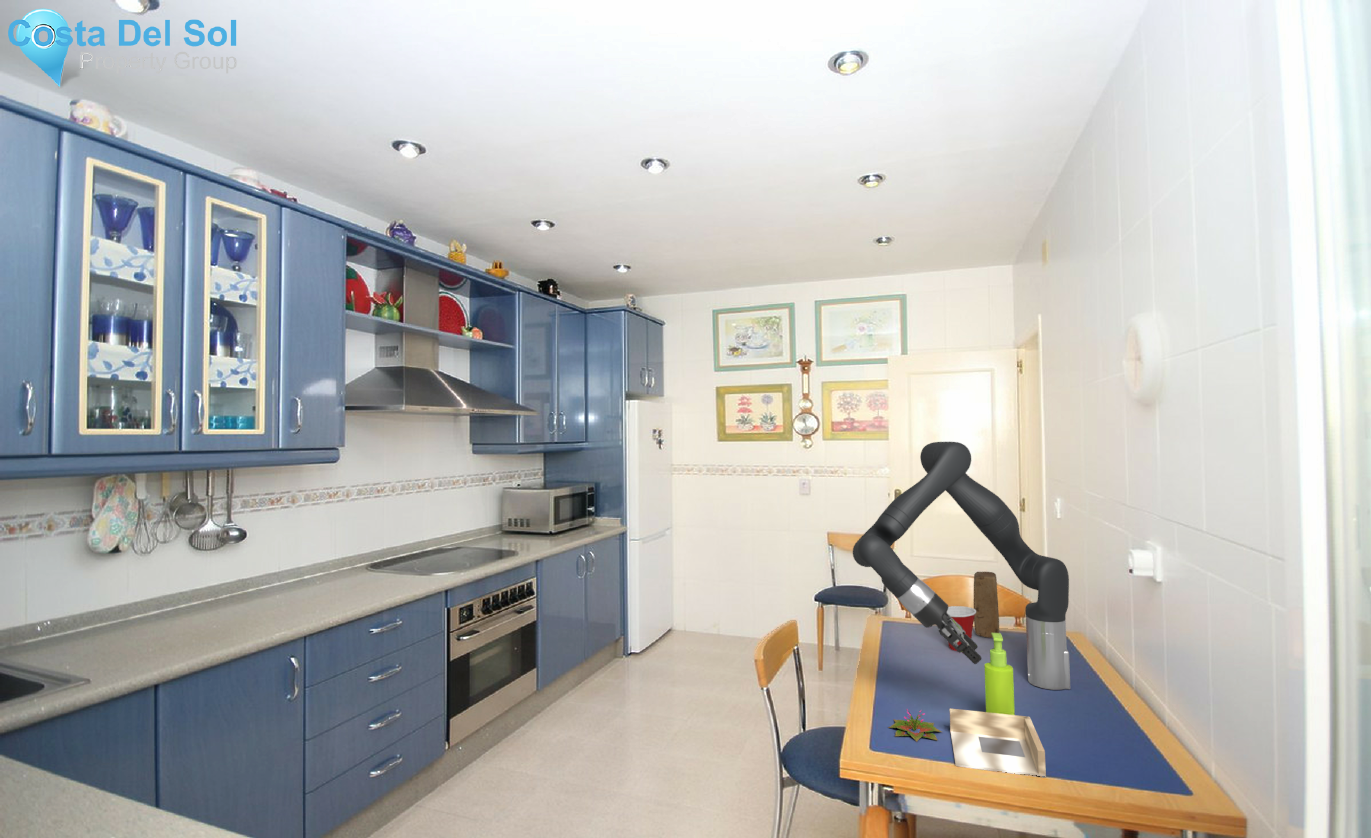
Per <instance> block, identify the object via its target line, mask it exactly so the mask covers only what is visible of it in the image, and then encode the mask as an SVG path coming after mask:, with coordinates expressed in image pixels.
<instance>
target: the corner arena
mask: <svg viewBox="0 0 1371 838" xmlns="http://www.w3.org/2000/svg"><path fill="white" fill-rule="evenodd" d="M949 728H950V730H949V731H950V737H951V744H952V745H951V746H952V750H953V751H952V752H953V757H954V758H953V759H954V764H955V767H961V768H968V769H973V770H974V769H976V770H982V771H984V770H985V771H991V772H997V771H1002V772H1001V773H1005V772H1007V773H1006V774H1014V773H1015V774H1014V775H1020V774H1030V775H1037V776H1045V777H1046V778H1047V775H1046V774H1047V773H1046V771H1047V770H1046V750H1045V748H1044V747H1043V746H1044V745H1043V744H1042V742H1041V740H1040V737H1039V734H1038V732H1037V731H1036V728H1035V726H1034V723H1033V721H1032V719H1031V717H1030V716H1028V715H1027V716H1024V715H1016V714H1015V715H1008V714H998V713H988V712H986V711H979V710H967V709H960V708H959V709H957V708H949Z"/></svg>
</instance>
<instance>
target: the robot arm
mask: <svg viewBox="0 0 1371 838" xmlns="http://www.w3.org/2000/svg"><path fill="white" fill-rule="evenodd" d="M920 463H921V466H922V469H923V470H924V471H925V472H926V474H925V475H924V477H922V478H921V479H920V480H919V481H917V482H916V483H915V484H913V486H911V487H909V488H907V489H906V490H904V491H903V492H902V493H901V494H899V495H898V496H896V498H895V499H893V500H892V501H891V503H890V504H889V505H888V506H886V508H885V509H884V510H883V511H882V513H881V514H879V517H878V518H877V520H876V521H875V522H874V523H873V524H872V525H871V526H870V528H869V529H867V530H866V531H865V532H864V533H863V534H862V535H861V537H859V538H858V540H857V541H856V542H855V543H854V545H853V547H852V557H853V560H854V561H855V562H856V563H857V564H858V565H859V566H861V567H864V568H872V569H873V571H875V572H876V574H877V575H878V576H879V577H880V579H881V582H882V584H883V585H884V587H885V588H886V589H887V590H888V591H889V592H890V593H891V594H892V595H893V596H895V598H897V600H898V601H899V602H900V604H902V606H903V607H904V609H906V610H907V611H908V612H909V613H910V614H911V615H912V616H913V617H914V618H916V620H917V621H918V622H919V623H920V624H921V625H922V626H923V627H924V628H927V629H928V628H931V627H933V626H934V625H935V626H936V627H937V628H938V630H937V631H938V633H939V635H940V636H942V638H943V639H945V640H946V641H947V643H948V642H949V643H950V644H951V645H952V646H953V647H954V648H955V649H956V650H957V651H956V652H958V653H959V654H960V653H962V654H964V655H965V657H966V658H967V659H968V660H970V661H971V663H972V664H973V665H977V664H978V663H980V662H981V661H982V660H983V659H982V656H981V655H980V654H979V653H978V652H977V651H976V650H977V649H978V644H977V643H976V642H975V641H974V640H973V639H972V638H970V637H969V636H968V635H967V634H965V631H964V630H963V628H962V626H960V625H959V624H958V623H957V622H956V621H955V620H954V619H953V618H952V617H951V616H950V615H948V614H947V610H948V607H949V604H948V603H946V601H945V600H943V598H942V597H941V596H939V595H938V594H937V593H936V592H935V591H934V589H932V588H931V587H930V585H928V584H927V583H926V582H924V581H923V580H922V579H920V578H919V577H918V576H917V575H916V574H915V573H914V572H913V571H912V570H911V569H910V568H908V567H907V566H906V565H905V564H904V563H903V562H902V560H901V558H900V557H899V556H898V554H897V553H896V552H895V551H894V549H893V548H892V545H893V544H894V543H896V541H898V540H900V539H901V538H902V537H903V536H904V535H905V533H907V531H908V530H909V529H910V528H911V526H913V524H914V523H915V522H916V520H917V519H918V518H919V516H920V515H922V513H923V512H924V511H925V510H927V508H928V507H929V506H930V505H931V504H932V503H933V502H934V501H936V500H937V499H938V498H939V497H940V496H941V495H942V494H943V493H944V492H946V493H948V495H949V496H950V497H952V499H953V500H954V501H955V502H956V504H957V505H958V506H959V507H960V508H961V509H962V511H963V512H964V513H965V514H966V515H967V517H969V519H970V520H971V521H972V523H973V524H974V526H976V528H978V530H979V531H980V533H982V534H983V535H984V537H985V538H987V539H988V541H989V543H991V544H992V545H993V547H994V548H995V549H996V550H997V551H998V552H999V553H1000V555H1001V556H1002V557H1003V558H1004V560H1005V562H1006V563H1007V564H1008V566H1009V567H1010V568H1011V570H1012V573H1014V574H1015V576H1016V578H1017V579H1018V580H1019V581H1020V583H1022V584H1023V585H1024V586H1025V587H1027V588H1029V589H1032V590H1035V591H1038V592H1037V600H1036V602H1035V601H1034V602H1030V603H1028V604H1026V606H1025V631H1026V632H1025V634H1026V657H1027V658H1026V659H1027V662H1026V663H1027V680H1028V681H1027V682H1028V683H1029V684H1030V685H1032V686H1035V687H1037V688H1041V689H1046V690H1052V691H1053V690H1054V691H1057V690H1071V675H1070V674H1071V673H1070V672H1071V671H1070V668H1071V667H1070V652H1069V650H1068V649H1067V646H1068V645H1067V627H1066V626H1067V625H1066V624H1067V621H1066V620H1067V619H1066V617H1067V611H1068V608H1069V602H1070V601H1069V598H1070V597H1069V591H1070V578H1069V571H1068V568H1067V565H1066V564H1065V563H1064V562H1063V561H1062V560H1061V559H1058V558H1054V557H1050V556H1045V555H1040V554H1038V553H1037V552H1035V551H1034V550H1032V549H1031V547H1030V546H1028V544H1027V543H1026V542H1025V541H1024V539H1023V537H1022V536H1021V533H1020V524H1019V522H1018V518H1017V517H1016V515H1015V513H1013V511H1012V510H1011V508H1010V507H1009V506H1008V505H1007V504H1006V503H1005V502H1004V501H1003V500H1002V498H1000V497H999V496H998V495H997V494H995V493H994V492H993V491H991V490H990V489H988V488H986V487H985V486H983V485H982V484H980V483H979V482H978V481H976V480H974V479H973V478H972V477H970V476H969V475H968V474H967V472H968V470H970V467H971V464H972V454H971V452H970V449H969V448H968V447H967V446H966V445H965V444H964V443H961V442H958V441H934V442H930V443H928V444H926V445H925V446H923V448H922V450H921V452H920ZM959 641H960V642H961V644H960V645H958V644H957V642H959Z"/></svg>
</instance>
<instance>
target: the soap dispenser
mask: <svg viewBox="0 0 1371 838" xmlns="http://www.w3.org/2000/svg"><path fill="white" fill-rule="evenodd" d="M991 635H992V637H993V638H992V639H993V648H991V649H990V650H989V659H990V661H989V662H986V663H984V666H983V667H984V689H985V692H984V693H985V712H988V713H998V714H1008V715H1016V714H1015V710H1016V709H1015V688H1014V687H1015V685H1014V682H1015V681H1014V668H1013V666H1012V665H1010V664H1008V663H1007V661H1008V660H1007V651H1006V650H1005V649H1004V648H1003V642H1004V639H1003V636H1002V633H1000V632H999V633H991Z"/></svg>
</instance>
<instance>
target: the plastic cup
mask: <svg viewBox="0 0 1371 838" xmlns="http://www.w3.org/2000/svg"><path fill="white" fill-rule="evenodd" d="M975 613H976V610H975V609H974V607H970V606H962V605H956V606H955V605H951V606H948V610H947V614H948V615H950V616H951V617H952V618H953V619H954V620H955V621H956V622H957V623H958V624H959V625H960V626H962V628H963V630H964V631H965V634H967V635H968V636H969V637H970V638H971V639H972V638H973V637H972V636H973V628H974V616H975ZM947 643H948V647H949V649H950V650H951V651H954V652H957V650H956V649H955V648H954V647H953V646H952V645H951V644H950V643H949V642H948V641H947ZM957 644H958V645H960V644H961V642H960V641H959V642H957Z"/></svg>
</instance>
